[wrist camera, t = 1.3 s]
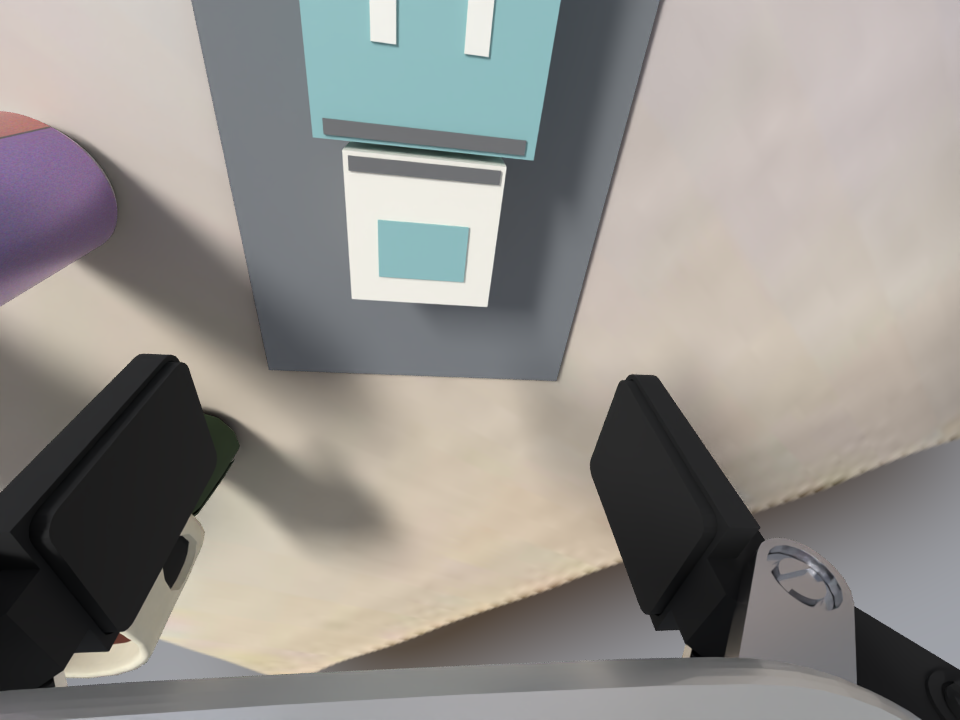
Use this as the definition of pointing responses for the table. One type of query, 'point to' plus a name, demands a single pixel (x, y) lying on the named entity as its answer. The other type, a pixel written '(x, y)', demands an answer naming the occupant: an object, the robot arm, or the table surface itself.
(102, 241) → the beverage can
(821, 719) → the robot arm
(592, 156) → the mat
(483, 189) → the white box
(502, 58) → the striped teal box
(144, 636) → the character mug
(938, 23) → the table surface
